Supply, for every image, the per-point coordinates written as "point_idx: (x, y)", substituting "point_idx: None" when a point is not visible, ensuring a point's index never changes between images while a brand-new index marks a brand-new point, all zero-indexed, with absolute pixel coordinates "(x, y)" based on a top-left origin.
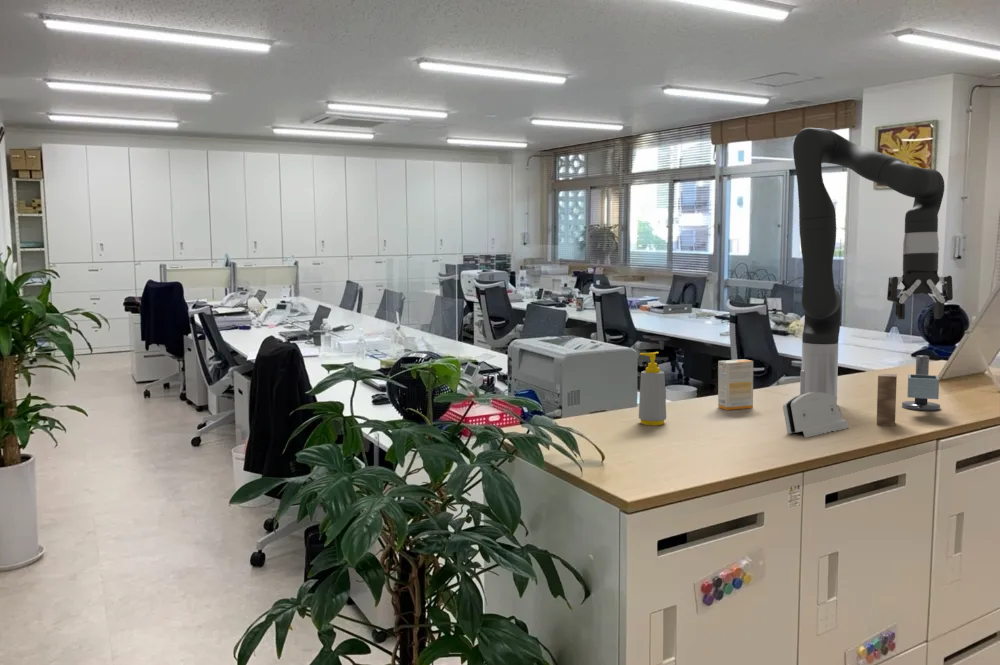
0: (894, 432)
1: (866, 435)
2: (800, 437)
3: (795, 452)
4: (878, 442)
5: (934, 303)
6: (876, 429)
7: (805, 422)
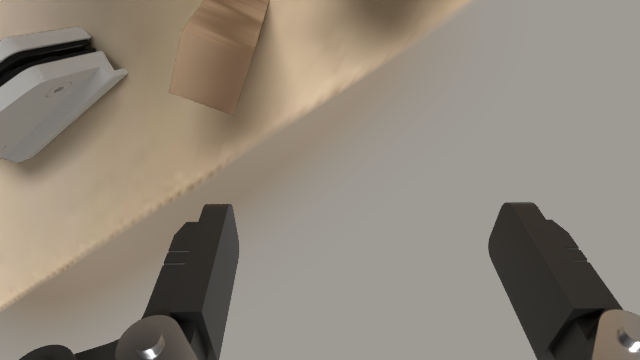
0: None
1: (161, 140)
2: None
3: (30, 243)
4: (176, 189)
5: (571, 310)
6: None
7: (9, 147)
